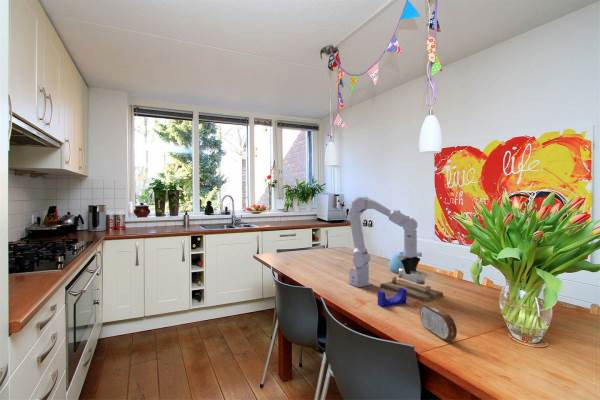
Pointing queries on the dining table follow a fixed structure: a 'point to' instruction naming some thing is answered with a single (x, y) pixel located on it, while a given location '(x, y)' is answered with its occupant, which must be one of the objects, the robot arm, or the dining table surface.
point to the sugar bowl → (395, 263)
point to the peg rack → (412, 289)
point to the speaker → (438, 322)
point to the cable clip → (392, 298)
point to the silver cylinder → (412, 276)
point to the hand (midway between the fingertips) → (410, 273)
